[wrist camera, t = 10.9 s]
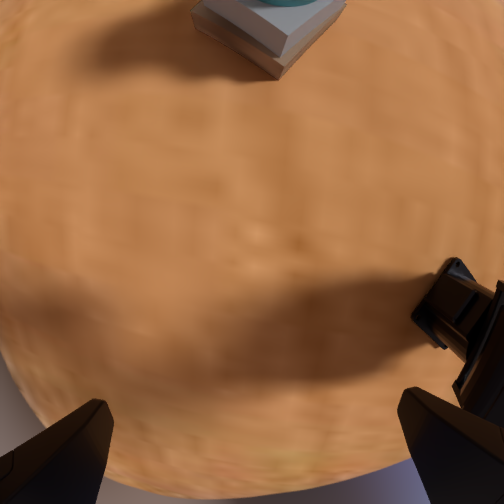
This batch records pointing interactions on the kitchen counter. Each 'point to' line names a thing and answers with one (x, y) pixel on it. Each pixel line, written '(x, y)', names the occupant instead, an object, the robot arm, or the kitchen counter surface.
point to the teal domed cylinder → (288, 2)
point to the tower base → (250, 46)
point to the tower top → (275, 20)
